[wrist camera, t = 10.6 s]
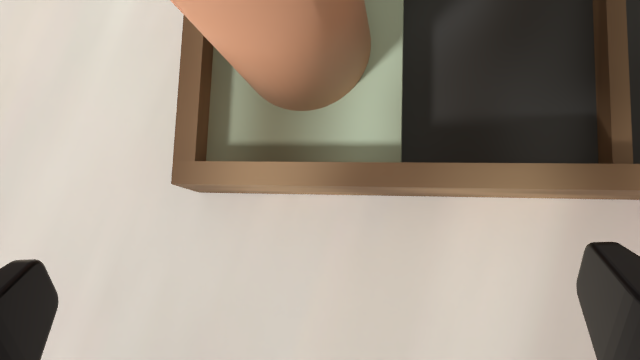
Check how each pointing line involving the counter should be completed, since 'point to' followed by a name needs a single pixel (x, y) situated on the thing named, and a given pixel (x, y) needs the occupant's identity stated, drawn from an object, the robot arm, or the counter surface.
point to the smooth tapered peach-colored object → (288, 45)
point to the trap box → (435, 108)
